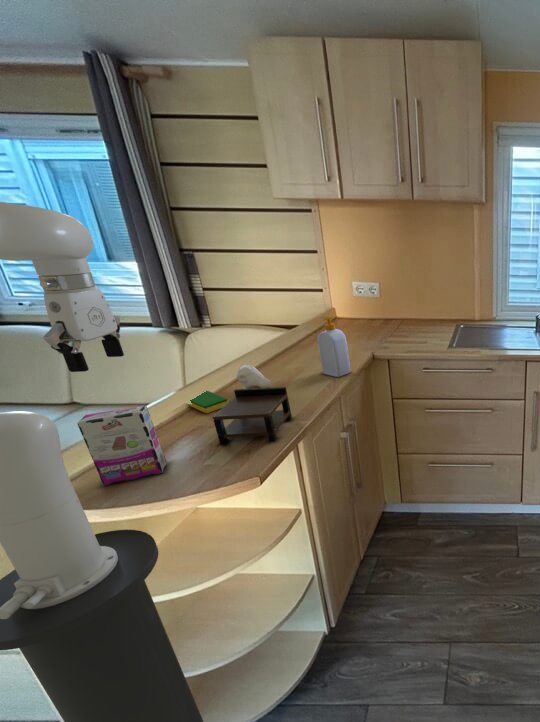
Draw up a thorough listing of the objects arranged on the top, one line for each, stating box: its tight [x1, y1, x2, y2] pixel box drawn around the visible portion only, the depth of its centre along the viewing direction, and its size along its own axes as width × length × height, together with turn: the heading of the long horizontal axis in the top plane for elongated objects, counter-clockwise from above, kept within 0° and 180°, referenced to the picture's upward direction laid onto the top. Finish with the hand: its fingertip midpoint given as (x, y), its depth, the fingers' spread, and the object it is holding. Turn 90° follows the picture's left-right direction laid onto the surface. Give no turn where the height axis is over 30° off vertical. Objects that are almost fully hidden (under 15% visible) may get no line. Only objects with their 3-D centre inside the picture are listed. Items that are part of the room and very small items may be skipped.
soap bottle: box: [317, 315, 352, 378], centre depth 157 cm, size 9×7×23 cm
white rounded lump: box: [236, 364, 272, 389], centre depth 144 cm, size 6×8×12 cm
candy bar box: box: [76, 404, 168, 486], centre depth 94 cm, size 11×5×16 cm, turn 118°
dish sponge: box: [187, 390, 230, 414], centre depth 133 cm, size 7×14×2 cm, turn 59°
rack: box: [212, 386, 293, 446], centre depth 115 cm, size 14×14×10 cm
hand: (98, 363), depth 87 cm, fingers open, 9 cm apart
